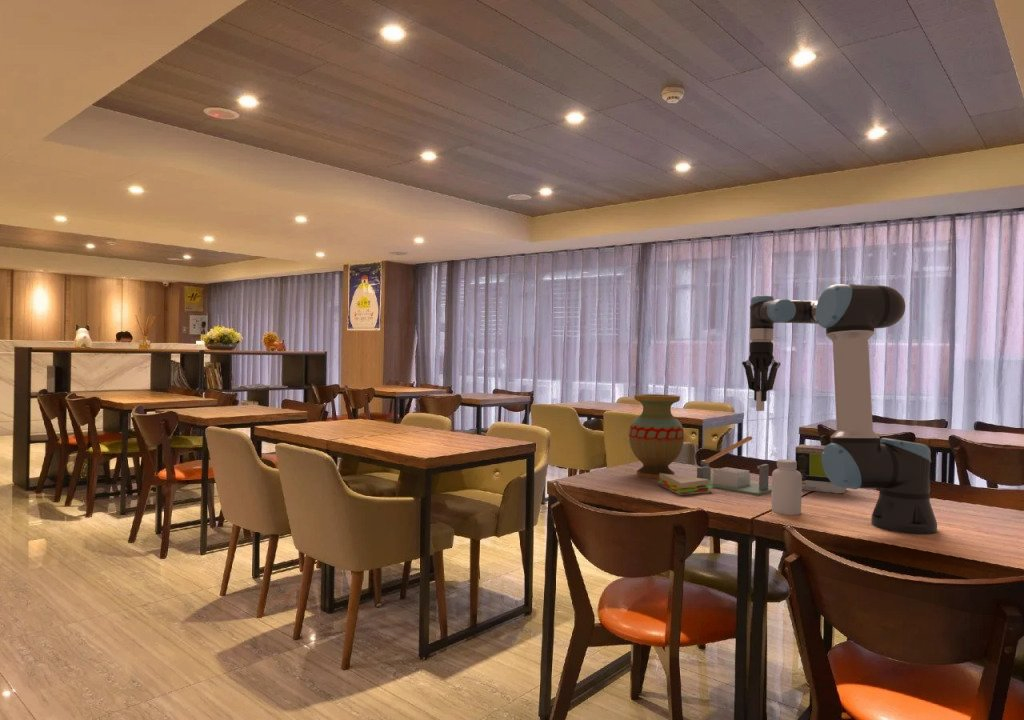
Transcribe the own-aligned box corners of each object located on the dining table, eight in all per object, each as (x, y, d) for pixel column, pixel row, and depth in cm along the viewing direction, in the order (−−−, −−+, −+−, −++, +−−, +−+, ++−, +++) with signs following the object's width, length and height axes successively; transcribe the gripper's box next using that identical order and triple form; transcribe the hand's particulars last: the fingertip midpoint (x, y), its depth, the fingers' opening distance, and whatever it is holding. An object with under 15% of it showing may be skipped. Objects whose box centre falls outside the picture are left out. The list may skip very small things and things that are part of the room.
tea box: (846, 490, 233) (847, 446, 232) (843, 495, 224) (844, 449, 224) (799, 485, 241) (800, 443, 241) (794, 489, 232) (795, 445, 232)
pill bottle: (766, 512, 196) (767, 460, 196) (777, 508, 202) (778, 457, 202) (794, 517, 190) (795, 463, 190) (805, 513, 196) (806, 460, 196)
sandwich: (685, 485, 237) (685, 471, 237) (719, 497, 219) (720, 481, 219) (646, 488, 232) (646, 473, 232) (677, 499, 214) (678, 483, 214)
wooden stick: (700, 467, 240) (697, 462, 241) (705, 466, 242) (702, 461, 243) (749, 441, 227) (745, 435, 228) (754, 440, 229) (751, 434, 230)
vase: (621, 472, 260) (623, 393, 260) (672, 472, 263) (673, 394, 262) (637, 482, 241) (638, 396, 241) (691, 481, 243) (693, 397, 243)
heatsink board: (681, 484, 238) (681, 457, 238) (705, 479, 249) (705, 453, 249) (757, 497, 218) (758, 468, 218) (780, 490, 229) (780, 463, 229)
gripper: (785, 341, 231) (783, 411, 231) (749, 341, 240) (747, 409, 240) (774, 341, 226) (773, 412, 226) (738, 341, 235) (736, 409, 235)
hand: (760, 410), depth 233 cm, fingers closed
